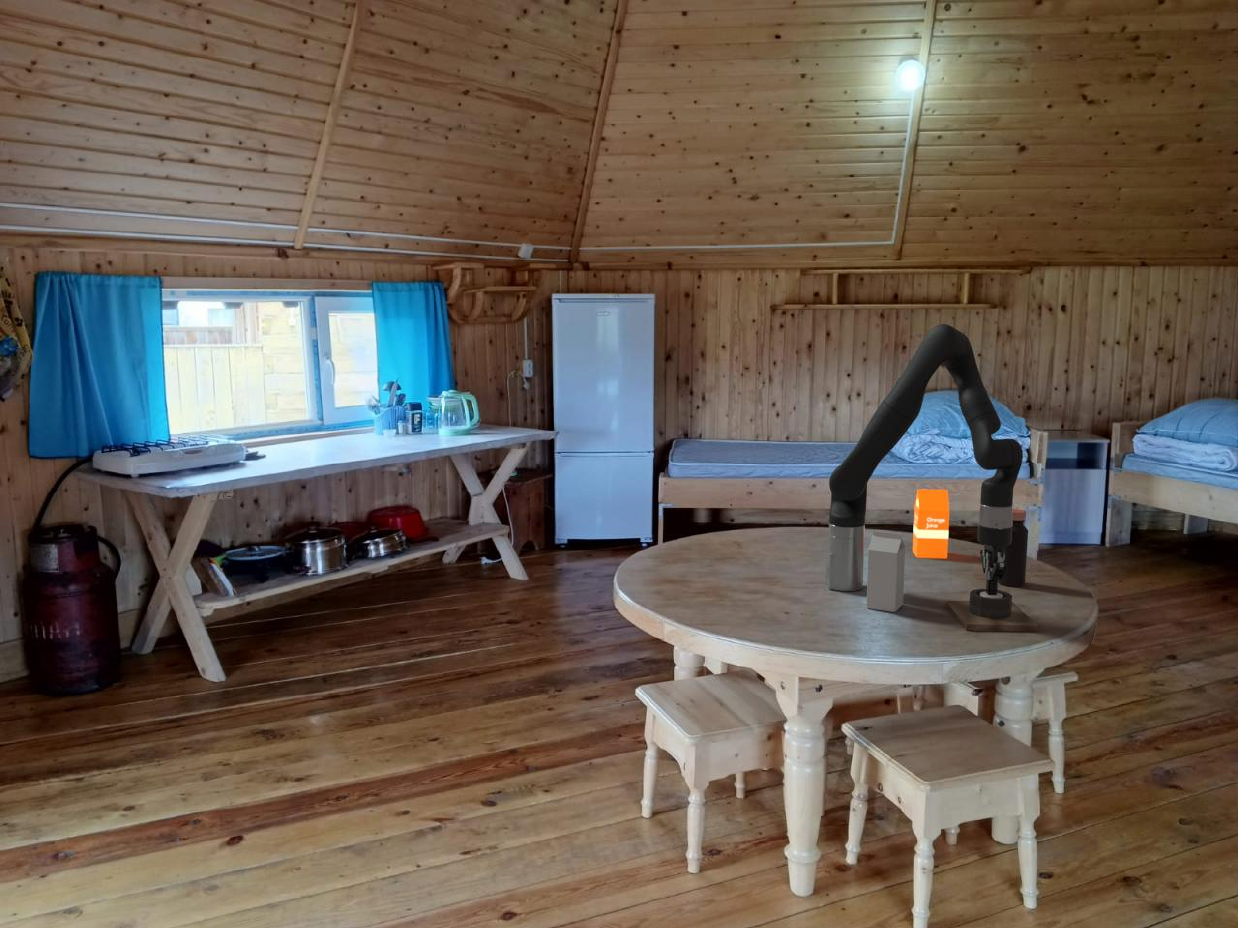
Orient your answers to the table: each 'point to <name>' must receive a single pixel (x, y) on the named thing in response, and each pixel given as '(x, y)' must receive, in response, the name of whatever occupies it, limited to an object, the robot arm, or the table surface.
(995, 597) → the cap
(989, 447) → the robot arm
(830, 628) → the table surface
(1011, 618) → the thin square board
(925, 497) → the orange juice
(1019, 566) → the bottle
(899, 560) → the milk carton
